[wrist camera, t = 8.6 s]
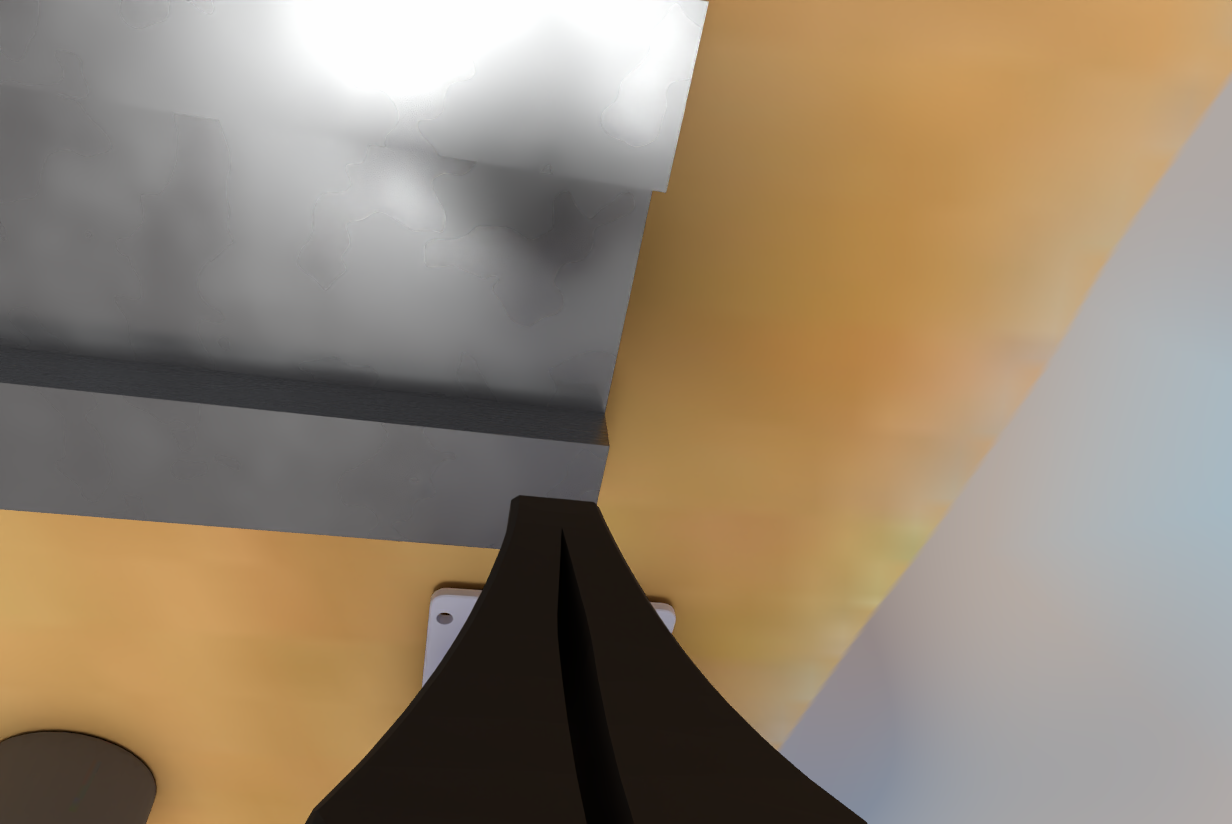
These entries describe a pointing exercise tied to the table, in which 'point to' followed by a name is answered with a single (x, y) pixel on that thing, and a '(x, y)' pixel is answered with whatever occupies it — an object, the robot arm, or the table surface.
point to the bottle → (72, 781)
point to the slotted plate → (323, 254)
